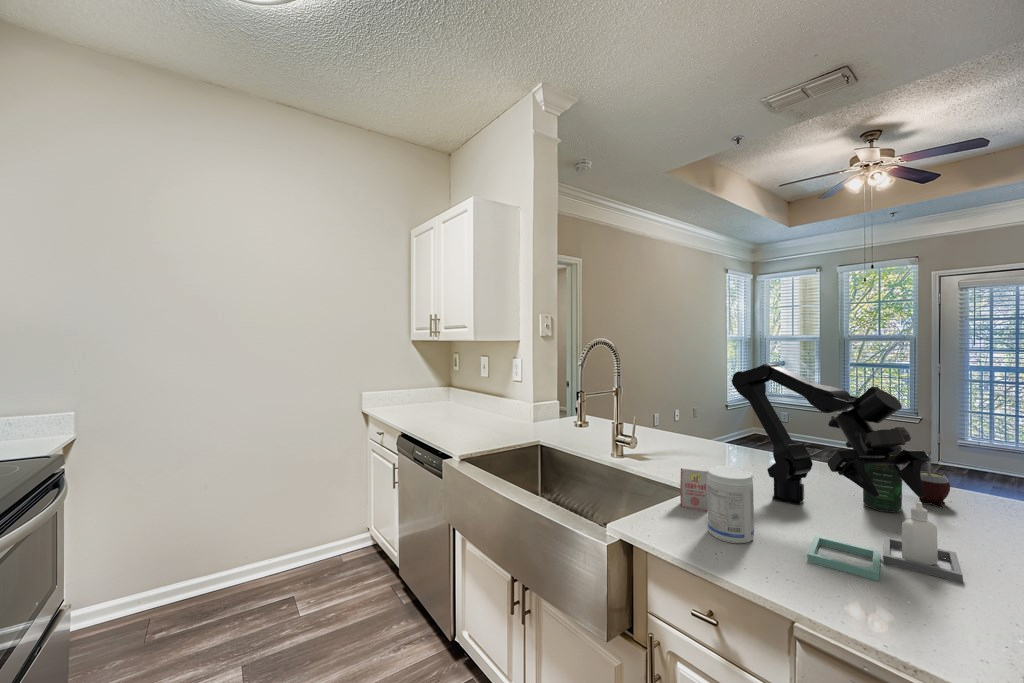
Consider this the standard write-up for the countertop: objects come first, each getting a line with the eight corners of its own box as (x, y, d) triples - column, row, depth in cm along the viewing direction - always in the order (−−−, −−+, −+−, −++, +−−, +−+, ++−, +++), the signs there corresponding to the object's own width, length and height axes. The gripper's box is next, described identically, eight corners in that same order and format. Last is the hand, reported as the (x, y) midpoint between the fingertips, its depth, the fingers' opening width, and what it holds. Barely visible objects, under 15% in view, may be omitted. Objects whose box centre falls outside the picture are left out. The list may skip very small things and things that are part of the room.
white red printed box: (681, 502, 118) (681, 466, 118) (708, 506, 115) (708, 469, 115) (680, 507, 115) (680, 470, 115) (708, 511, 112) (707, 473, 112)
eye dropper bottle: (898, 553, 89) (897, 496, 89) (934, 559, 86) (933, 500, 86) (904, 563, 85) (904, 503, 85) (943, 570, 82) (942, 508, 82)
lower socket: (807, 561, 86) (807, 553, 86) (814, 541, 94) (814, 535, 94) (878, 581, 79) (878, 573, 79) (880, 558, 87) (879, 550, 87)
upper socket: (883, 562, 85) (883, 555, 85) (883, 543, 94) (883, 536, 94) (962, 583, 78) (962, 575, 78) (955, 559, 86) (955, 552, 86)
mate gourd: (934, 498, 119) (933, 445, 119) (961, 510, 111) (960, 452, 111) (905, 498, 119) (904, 444, 119) (929, 509, 112) (929, 452, 112)
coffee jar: (902, 516, 107) (901, 442, 107) (861, 508, 113) (861, 438, 113) (903, 505, 114) (902, 436, 114) (865, 498, 120) (864, 432, 120)
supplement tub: (726, 523, 104) (725, 463, 104) (763, 539, 96) (763, 474, 96) (698, 531, 100) (697, 469, 100) (735, 549, 92) (734, 480, 92)
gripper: (835, 414, 97) (874, 478, 85) (921, 413, 95) (973, 478, 84) (813, 440, 104) (846, 502, 93) (893, 440, 103) (936, 503, 92)
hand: (899, 496), depth 91 cm, fingers open, 9 cm apart
